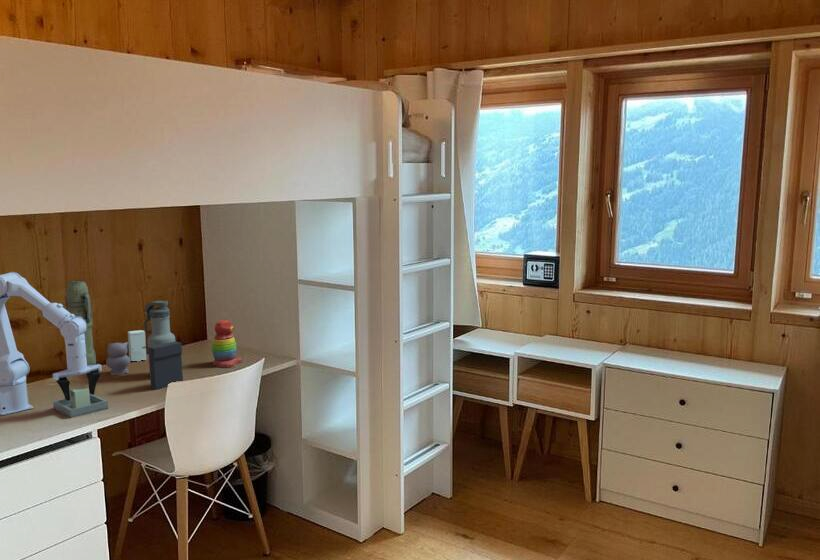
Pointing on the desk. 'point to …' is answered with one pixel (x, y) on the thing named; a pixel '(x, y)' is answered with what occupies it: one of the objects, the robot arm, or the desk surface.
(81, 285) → the thermos
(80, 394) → the block
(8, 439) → the desk surface
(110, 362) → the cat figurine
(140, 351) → the skincare box
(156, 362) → the dark gray box
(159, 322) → the water bottle
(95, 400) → the bin
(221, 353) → the stacking bear
